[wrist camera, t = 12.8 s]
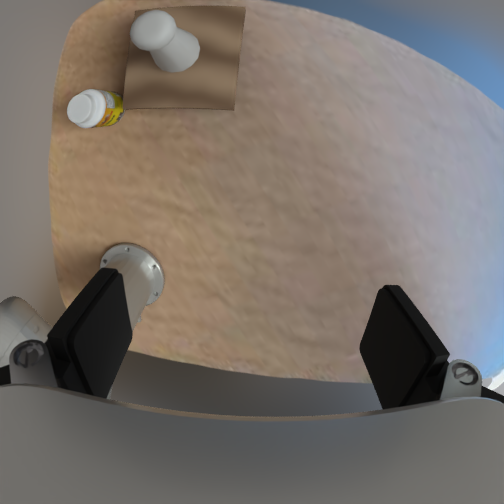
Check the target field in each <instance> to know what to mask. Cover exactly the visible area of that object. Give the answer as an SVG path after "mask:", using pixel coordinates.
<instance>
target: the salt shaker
mask: <svg viewBox="0 0 504 504" xmlns="http://www.w3.org/2000/svg"><path fill="white" fill-rule="evenodd" d="M130 36H131V40H132V42H133V43H134V44H135V45H136V46H137V47H138V48H139V49H142V50H146V51H150V53H151V55H152V57H153V59H154V61H155V63H156V65H157V66H158V67H159V68H160V69H161V70H164V71H168V72H171V73H172V72H181V71H184V70H186V69H187V68H189V67H191V66H192V65H193V64H194V62H195V61H196V60H197V59H198V56H199V51H200V46H199V43H198V39H197V38H196V37H195V36H194V35H192V34H191V33H190V32H187V31H185V30H183V29H180V28H178V27H176V23H175V20H174V18H173V17H172V16H170V15H169V14H168V13H167V12H165V11H160V10H152V11H148V12H145V13H144V14H142V15H140V16H139V17H137V19H136V20H135V21H134V23H133V24H132V26H131V30H130Z"/></svg>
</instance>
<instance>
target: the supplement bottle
mask: <svg viewBox="0 0 504 504" xmlns="http://www.w3.org/2000/svg"><path fill="white" fill-rule="evenodd" d="M124 112H125V109H123V98H122V96H121V95H119V94H118V93H115V92H110V91H103V90H96V89H88V90H85V91H83V92H81V93H80V94H78V95H76V96H74V97H73V98H72V99H71V101H70V102H69V104H68V107H67V115H68V117H69V119H70V120H71V121H72V122H74V123H75V124H76V125H78V126H79V127H82V128H92V127H102V126H110V125H114V124H116V123H117V122H118V121H119V120H120V119H121V118H122V116H123V115H124Z"/></svg>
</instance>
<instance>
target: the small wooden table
mask: <svg viewBox="0 0 504 504" xmlns="http://www.w3.org/2000/svg"><path fill="white" fill-rule="evenodd" d="M152 10H160V11H165V12H167V13H168V14H169V15H170V16H172V17H173V18H174V20H175V23H176V27H178V28H180V29H183V30H185V31H187V32H190V33H191V34H192V35H194V36H195V37H196V38H197V39H198V43H199V46H200V51H199V56H198V59H197V60H196V61H195V62H194V64H193V65H192V66H191V67H189V68H187V69H186V70H184V71H181V72H172V73H171V72H168V71H164V70H161V69H160V68H159V67H158V66H157V65H156V63H155V61H154V59H153V57H152V55H151V53H150V51H146V50H142V49H139V48H138V47H137V46H136V45H135V44H134V43H133V42H132V40H131V38H130V45H129V52H128V59H127V67H126V75H125V85H124V96H123V109H145V108H196V109H219V110H234V105H235V96H236V86H237V77H238V68H239V60H240V51H241V43H242V35H243V27H244V19H245V12H246V9H245V7H237V6H182V7H167V8H156V9H147V10H139V11H135V16H134V21H135V20H136V19H137V17H139V16H140V15H142V14H144V13H145V12H148V11H152ZM134 21H133V23H134Z"/></svg>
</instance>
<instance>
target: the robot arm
mask: <svg viewBox="0 0 504 504" xmlns="http://www.w3.org/2000/svg"><path fill="white" fill-rule="evenodd" d="M163 288H164V273H163V270H162V267H161V265H160V263H159V262H158V260H157V259H156V258H155V257H154V256H153V255H152V254H151V253H150V252H149V251H148V250H146V249H145V248H143V247H141V246H138V245H135V244H130V243H121V244H118V245H115V246H113V247H111V248H110V249H109V250H108V251H107V252H106V253H105V254H104V256H103V257H102V259H101V263H100V270H99V271H98V272H97V273H96V274H95V276H94V277H93V278H92V279H91V280H90V281H89V283H88V284H87V285H86V286H85V287H84V289H83V290H82V291H81V292H80V293H79V295H78V296H77V297H76V298H75V300H74V301H73V302H72V303H71V305H70V306H69V307H68V308H67V310H66V311H65V312H64V313H63V315H62V316H61V317H60V319H59V320H58V321H57V323H56V324H55V325H54V327H52V326H51V325H50V324H48V322H47V321H46V320H44V319H43V318H42V317H41V316H40V315H39V314H38V313H37V312H36V311H35V310H34V309H33V308H32V307H31V306H30V305H29V304H28V303H27V302H26V301H25V300H23V299H21V298H19V297H14V296H13V297H9V298H7V299H5V300H3V301H2V302H1V303H0V504H504V396H503V395H500V394H498V393H496V392H494V391H492V390H490V389H488V388H486V387H483V386H482V376H481V373H480V371H479V370H478V369H477V367H475V366H474V365H473V364H472V363H470V362H468V361H465V360H461V359H456V360H453V361H452V362H450V363H449V362H448V361H447V359H448V357H449V355H450V354H449V352H448V351H447V349H446V348H445V346H444V345H443V343H442V342H441V340H440V339H439V338H438V336H437V335H436V333H435V332H434V331H433V329H432V328H431V326H430V325H429V324H428V322H427V321H426V320H425V318H424V317H423V316H422V314H421V313H420V312H419V310H418V309H417V308H416V306H415V305H414V304H413V302H412V301H411V300H410V298H409V297H408V296H407V295H406V293H405V292H404V291H403V290H402V288H401V287H400V286H399V285H384V286H383V288H382V289H379V291H378V293H377V296H376V300H375V303H374V306H373V309H372V312H371V315H370V318H369V321H368V323H367V326H366V329H365V332H364V335H363V337H362V340H361V343H360V353H361V356H362V358H363V360H364V363H365V365H366V368H367V370H368V373H369V375H370V378H371V380H372V383H373V385H374V388H375V390H376V393H377V395H378V398H379V401H380V403H381V406H382V408H383V410H375V411H368V412H359V413H349V414H338V415H323V416H303V417H248V416H227V415H213V414H201V413H191V412H182V411H174V410H167V409H160V408H153V407H147V406H142V405H136V404H130V403H125V402H120V401H115V400H110V396H111V390H112V384H113V382H114V379H115V377H116V375H117V372H118V370H119V368H120V365H121V363H122V361H123V358H124V356H125V354H126V352H127V349H128V347H129V345H130V343H131V340H132V332H133V330H134V328H135V326H136V324H137V322H141V320H142V319H141V313H142V311H143V309H144V307H145V306H147V305H149V304H152V303H153V302H155V301H156V300H157V299H158V298H159V296H160V294H161V293H162V290H163Z"/></svg>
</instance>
